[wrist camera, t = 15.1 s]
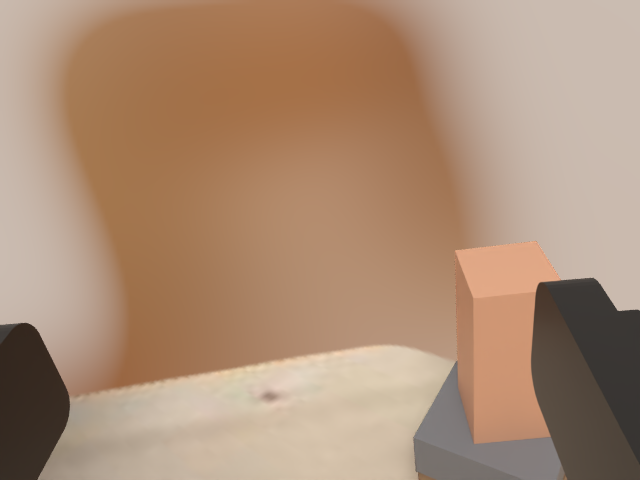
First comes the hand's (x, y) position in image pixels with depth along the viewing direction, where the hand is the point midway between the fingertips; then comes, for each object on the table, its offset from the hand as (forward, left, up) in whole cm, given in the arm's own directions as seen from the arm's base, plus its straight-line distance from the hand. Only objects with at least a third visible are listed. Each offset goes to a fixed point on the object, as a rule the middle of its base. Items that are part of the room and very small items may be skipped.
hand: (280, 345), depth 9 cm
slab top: (-14, +18, -29) cm, 37 cm away
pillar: (-14, +18, -25) cm, 34 cm away
